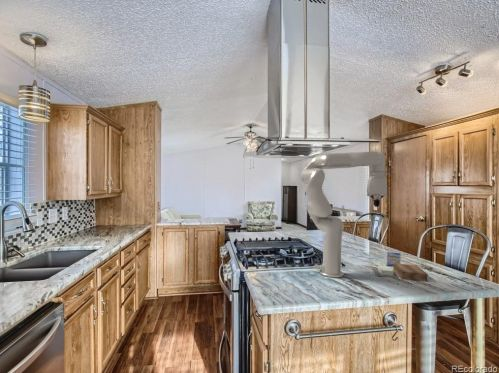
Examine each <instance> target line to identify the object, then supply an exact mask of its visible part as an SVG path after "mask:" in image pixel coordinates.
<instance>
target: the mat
mask: <svg viewBox="0 0 499 373" xmlns="http://www.w3.org/2000/svg"><path fill="white" fill-rule="evenodd" d="M371 269H372V271H373V272H374V274H375V276H377V277H379V278H380V277H381V278H382V277H383V278H391V279H392V278H393V279H400V277H399V276H398V274H397V273H396V272H394V276H391V275H382V274H381V273H380V272H379V270H378V268H374V267H373V268H371Z"/></svg>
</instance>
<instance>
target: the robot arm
mask: <svg viewBox="0 0 499 373" xmlns="http://www.w3.org/2000/svg"><path fill="white" fill-rule="evenodd" d="M356 167H370V173H369V174H370V175H369V177H368V179H367V184H366V185H367V188H366V196H367V197H370V198H371V199H372V200H373V206H374V207H375V208H379V206H380V203H381V199H383V198H386V197H388V187H387V186H388V182H387V178H386V176H388V173H386V172H385V171H386V170H385V169H386V155H385V154H383V153H379V152H378V151H361V152H360V151H359V152H357V151H356V152H350V151H349V152H331V153H330V152H329V153H320V154H318V155H316V156H314V157H313V158H312V160H311V161H310V162H309V163H308V164H307V165H306V167H304V168H303V170H302V171H301V173H300V180H301V182H302V183H303V184H305V185H307V186H306V196H307V198H308V200H309V202H308V203H307V207H306V209H307V210H306V211H307V214H308V215H309V217H310V218H311V220H312V222H313V223H314V225H315V227H316V228H317V229H318V230H319V231H321V232H324V233H325V234H324V237H323V242H322V245H323V247H322V248H323V249H322V263H321V264H320V265H318V264H314V266H313V267H314V268H313V269H316V270H319V274H320V275H322V276H324V277H329V278H342V277H343V276H344V274H345V272H343V271H342V270H341V269H342V238H343V233H344V230H345V226H344V222H343V220H342V218H339V217H338V216H333V215H332V214H333V207H332V205H331V204H330V202H329V200H328V198H327V196H326V195H325V193H324V190H323V185H324V183H325V179H326V173H325V171H324V170H331V169H332V170H333V169H350V168H356Z"/></svg>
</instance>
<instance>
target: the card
mask: <svg viewBox="0 0 499 373" xmlns="http://www.w3.org/2000/svg"><path fill="white" fill-rule="evenodd" d="M377 269H378V270H379V272H380V273H381V274H382V275H391V276H394V273H395V271H394V270H393V268H391V266H386V265H377Z"/></svg>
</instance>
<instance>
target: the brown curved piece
mask: <svg viewBox="0 0 499 373" xmlns="http://www.w3.org/2000/svg"><path fill="white" fill-rule="evenodd" d="M392 270H393V271H394V273H395V274H396V275H397V276H398V277H399V279H401V280H408V281H410V280H411V281H416V282H417V281H419V282H428V274H429V273H428V272H426V271H425V270H423V269H422V268H420V267H419V266H418V265H417V264H405V263H400V264H396V263H394V267H392Z"/></svg>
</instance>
